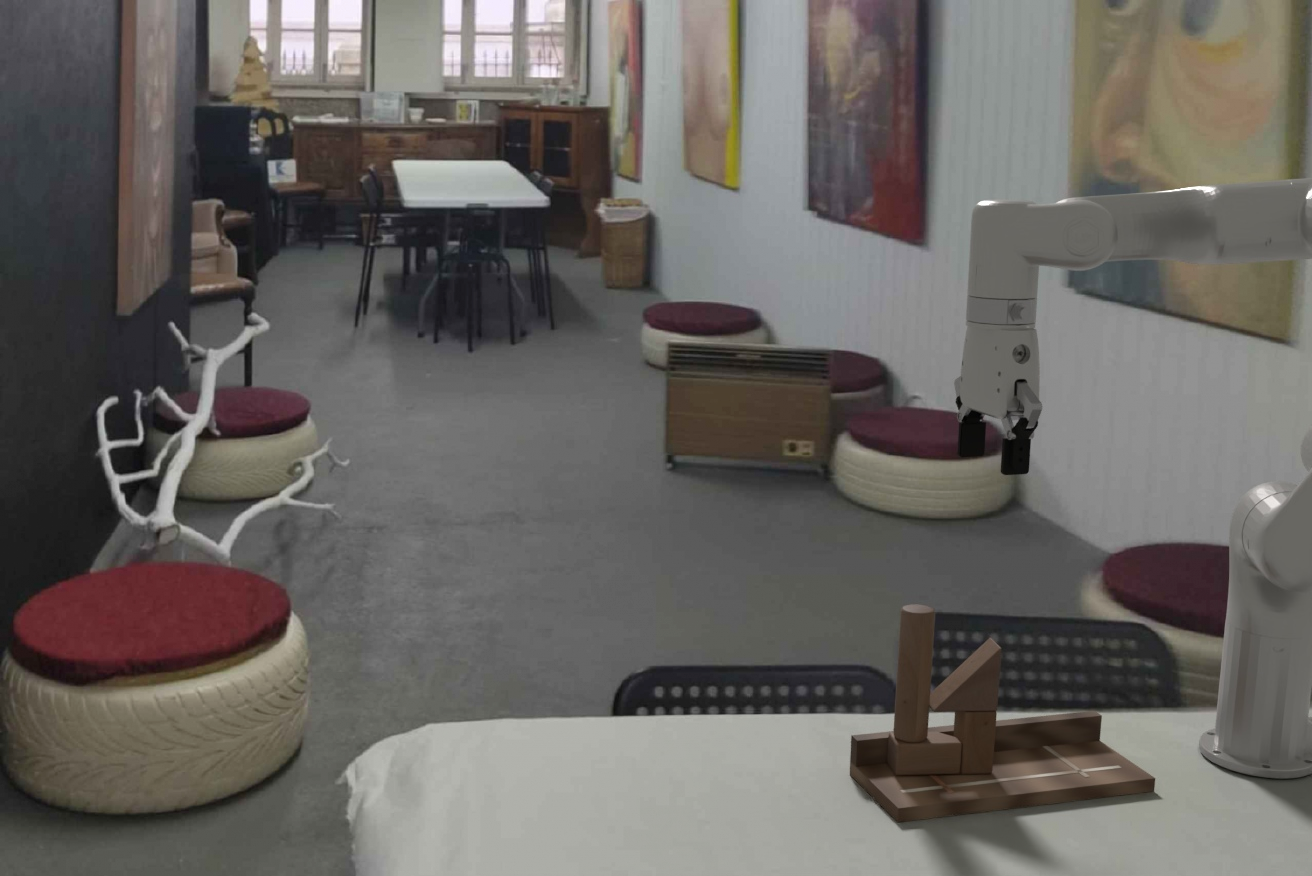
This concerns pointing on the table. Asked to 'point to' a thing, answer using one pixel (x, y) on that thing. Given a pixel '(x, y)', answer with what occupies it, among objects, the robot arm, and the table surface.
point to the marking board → (1005, 770)
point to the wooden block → (942, 704)
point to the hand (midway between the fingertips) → (992, 464)
